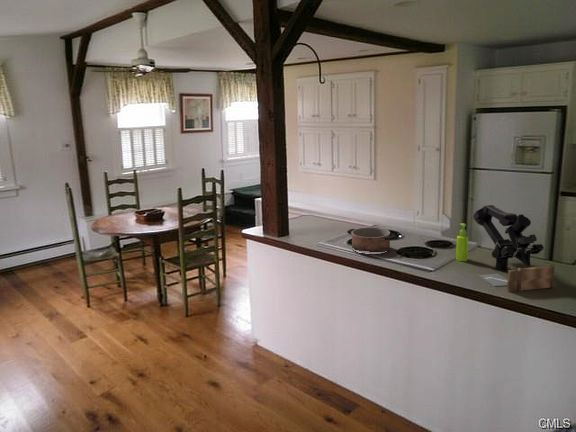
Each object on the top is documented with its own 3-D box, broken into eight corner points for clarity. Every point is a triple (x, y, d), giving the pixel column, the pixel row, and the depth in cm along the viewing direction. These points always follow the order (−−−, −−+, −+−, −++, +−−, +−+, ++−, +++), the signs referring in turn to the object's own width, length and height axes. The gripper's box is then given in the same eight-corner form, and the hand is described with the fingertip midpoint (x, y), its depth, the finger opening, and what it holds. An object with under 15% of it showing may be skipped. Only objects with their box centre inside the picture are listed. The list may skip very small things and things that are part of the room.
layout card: (478, 275, 225) (478, 275, 225) (497, 274, 226) (497, 273, 226) (494, 286, 212) (494, 285, 211) (514, 285, 213) (514, 284, 212)
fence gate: (522, 290, 206) (524, 268, 203) (520, 288, 207) (522, 267, 205) (553, 287, 207) (555, 266, 205) (551, 286, 209) (553, 265, 206)
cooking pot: (402, 248, 272) (402, 231, 270) (385, 258, 256) (385, 240, 253) (358, 241, 291) (358, 224, 288) (339, 250, 274) (339, 233, 271)
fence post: (508, 292, 205) (510, 270, 202) (506, 290, 207) (507, 268, 204) (521, 291, 206) (523, 269, 203) (519, 289, 207) (521, 267, 205)
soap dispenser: (463, 256, 253) (465, 222, 248) (469, 261, 246) (471, 225, 241) (453, 257, 253) (455, 222, 248) (458, 261, 246) (460, 226, 241)
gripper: (505, 230, 211) (518, 260, 203) (543, 227, 213) (557, 257, 205) (495, 241, 220) (506, 270, 212) (531, 238, 222) (544, 267, 214)
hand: (528, 266), depth 211 cm, fingers closed
